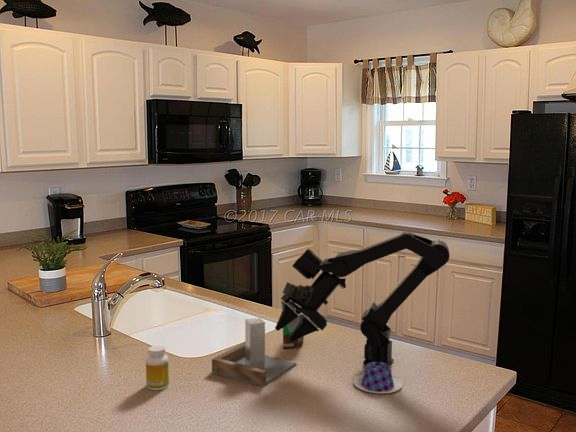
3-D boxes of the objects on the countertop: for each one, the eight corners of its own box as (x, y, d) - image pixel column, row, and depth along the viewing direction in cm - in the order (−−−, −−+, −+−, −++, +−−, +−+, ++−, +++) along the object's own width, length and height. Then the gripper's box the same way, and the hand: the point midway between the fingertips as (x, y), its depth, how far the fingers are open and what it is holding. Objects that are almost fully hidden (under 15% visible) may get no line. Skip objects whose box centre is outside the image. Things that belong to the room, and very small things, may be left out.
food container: (303, 352, 162) (303, 318, 160) (282, 350, 163) (282, 317, 161) (310, 337, 174) (310, 306, 172) (290, 336, 175) (290, 304, 173)
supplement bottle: (168, 390, 137) (167, 351, 136) (145, 391, 136) (144, 352, 135) (169, 380, 142) (168, 343, 141) (147, 382, 141) (146, 344, 140)
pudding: (367, 371, 149) (368, 352, 149) (410, 383, 142) (410, 363, 142) (344, 387, 140) (344, 367, 139) (388, 401, 133) (389, 379, 132)
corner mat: (296, 364, 153) (296, 362, 153) (262, 386, 139) (262, 384, 139) (248, 352, 161) (248, 350, 161) (212, 372, 147) (212, 370, 147)
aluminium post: (259, 362, 153) (259, 317, 151) (264, 368, 149) (264, 322, 147) (245, 364, 151) (245, 319, 149) (250, 370, 147) (250, 324, 146)
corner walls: (296, 362, 153) (296, 352, 152) (262, 384, 139) (262, 372, 139) (248, 350, 161) (248, 340, 160) (212, 370, 147) (211, 359, 147)
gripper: (287, 265, 160) (250, 307, 157) (316, 280, 143) (276, 328, 140) (312, 289, 164) (277, 330, 162) (343, 306, 147) (304, 353, 145)
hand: (282, 335), depth 152 cm, fingers open, 9 cm apart
